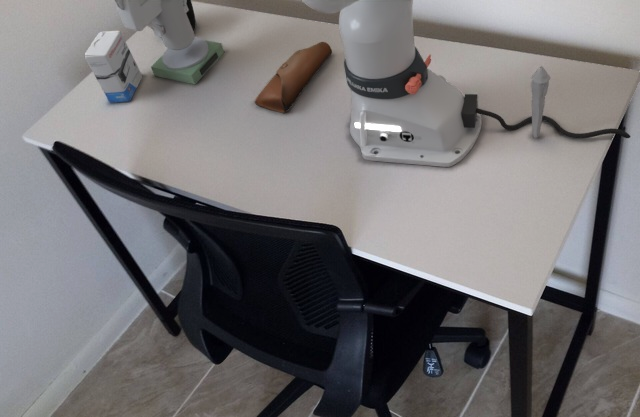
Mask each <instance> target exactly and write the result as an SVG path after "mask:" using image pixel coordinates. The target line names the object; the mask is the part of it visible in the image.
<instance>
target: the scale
mask: <svg viewBox="0 0 640 417" xmlns="http://www.w3.org/2000/svg"><path fill="white" fill-rule="evenodd" d="M224 54H225V50H224V47H223V44H222V43H221V42H217V41H212V40H211V41H210V40H205V39H202V38H196V37H195V39H194V40H193V43H192V44H191V45H190V46H189V47H187V48H185V49H182V50H171V49H168V48H166V49H165V51H164V52H163V54H162V55H161V56H160V57H158V59H157V60H156V61H155V62H154V63H153V64H152V65H151V66H150V68H151V70H152V72H153V75H154V76H155V77H158V78H162V79H168V80H172V81H177V82H182V83H187V84H191V85H196V84H197V83H198V82H199V81H200V80H201V79H202V78H203V77H204V75H206V73H207V72H209V70H210V69H211V68H212V67H213V66H214V64H216V62H217V61H218V60H219V59H220V58H221V57H222V56H223V55H224Z"/></svg>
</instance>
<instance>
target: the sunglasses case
mask: <svg viewBox="0 0 640 417" xmlns="http://www.w3.org/2000/svg"><path fill="white" fill-rule="evenodd" d="M332 54H333V49H332V47H331V45H330V44H329V43H327V42H325V41H320V42H317V43H316V44H313V45H311V46H309V47H307V48H302V49H299V50H296V51H295V52H294V53H293V54H292V55H290V57H289V58H288V59H287V60H286V61H284V62H283V63H282V64H281V65H280V66H279V68H278V69H276V72H275V74H274V75H273V76H272V77H271V79H270V80H269V81H268V82H267V83H266V84H265V86H264V87H263V88H262V90H261V91H260V92H259V93H258V95H257V96H256V97H255V99H254V100H253V102H254V104H255V105H256V106H259V107H260V108H263V109H266V110H270V111H273V112H277V113H280V114H285V113H287V112H289V110H290V109H292V106H293V105H294V104H295V102H296V101H297V99H298V98H299V97H300V95H301V94H302V92H303V91H304V89H305V88H306V86H307V85H308V84H309V83H310V81H311V80H312V79H313V78H314V77H315V75H316V74H317V73H318V71H319V70H320V69H321V68H322V66H324V64H325V63H326V61H328V59H329V58H330V56H331V55H332Z"/></svg>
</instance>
